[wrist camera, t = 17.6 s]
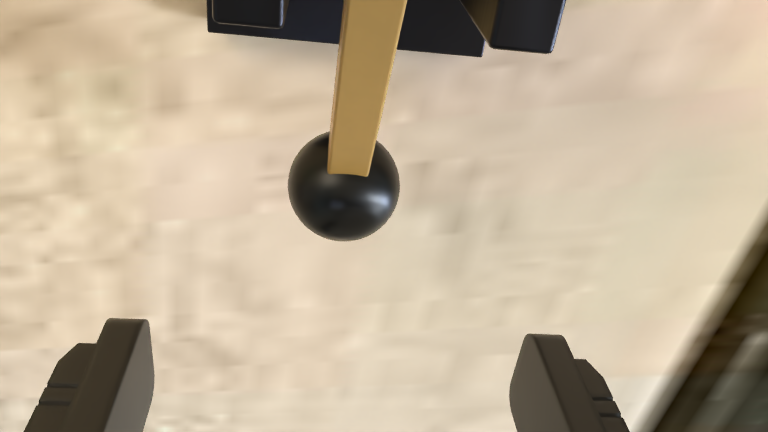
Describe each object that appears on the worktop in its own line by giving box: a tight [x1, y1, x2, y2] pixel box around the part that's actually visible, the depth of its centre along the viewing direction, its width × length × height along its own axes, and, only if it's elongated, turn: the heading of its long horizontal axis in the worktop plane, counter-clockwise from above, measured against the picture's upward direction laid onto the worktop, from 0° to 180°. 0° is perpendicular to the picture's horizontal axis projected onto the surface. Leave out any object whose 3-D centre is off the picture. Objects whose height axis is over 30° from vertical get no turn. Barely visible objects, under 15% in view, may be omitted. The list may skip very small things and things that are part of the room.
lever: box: [288, 0, 407, 241], centre depth 14 cm, size 13×3×3 cm, turn 174°
